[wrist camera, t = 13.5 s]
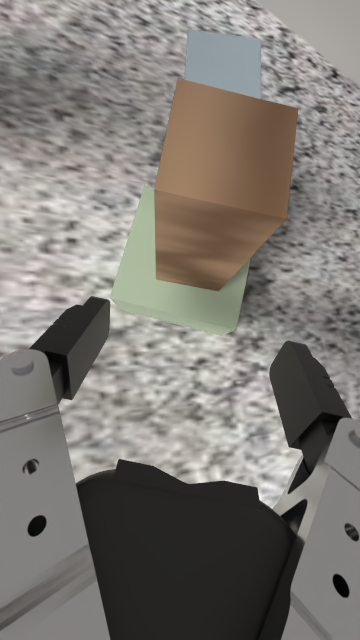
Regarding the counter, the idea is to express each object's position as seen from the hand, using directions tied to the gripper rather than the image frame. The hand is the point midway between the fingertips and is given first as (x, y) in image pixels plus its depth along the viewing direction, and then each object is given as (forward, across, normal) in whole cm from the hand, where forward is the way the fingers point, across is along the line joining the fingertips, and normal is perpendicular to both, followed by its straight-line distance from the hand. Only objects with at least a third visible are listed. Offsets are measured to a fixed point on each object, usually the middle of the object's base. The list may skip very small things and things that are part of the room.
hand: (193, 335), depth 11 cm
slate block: (+21, +2, -5) cm, 22 cm away
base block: (+14, +1, +4) cm, 14 cm away
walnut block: (+10, +1, 0) cm, 10 cm away
